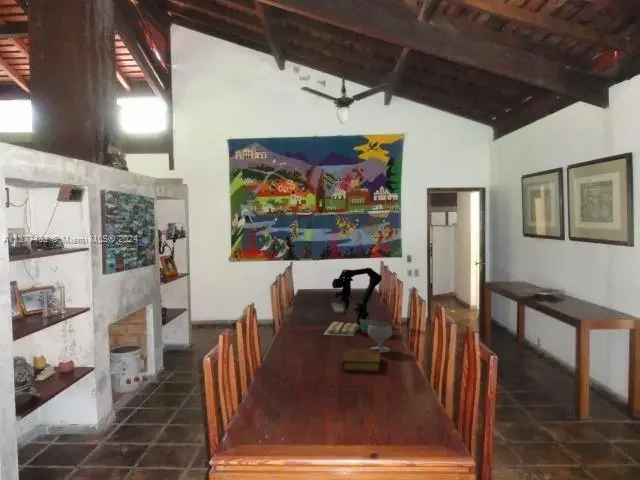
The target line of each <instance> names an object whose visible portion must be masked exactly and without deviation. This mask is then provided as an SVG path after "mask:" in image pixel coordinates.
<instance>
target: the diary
mask: <svg viewBox="0 0 640 480" xmlns="http://www.w3.org/2000/svg"><path fill="white" fill-rule="evenodd" d="M380 356H381V355H380V349H370V348H355V347H354V348H350V347H349V348H346V349H344V354H343V356H342V359H341V370H342V371H343V372H368V373H369V372H372V373H373V372H374V373H376V372H377V373H378V372H379V373H380V372H381V371H380V370H381V368H380V364H381V361H380V360H381V359H380V358H381V357H380Z"/></svg>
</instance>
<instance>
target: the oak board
mask: <svg viewBox="0 0 640 480" xmlns="http://www.w3.org/2000/svg"><path fill="white" fill-rule="evenodd" d="M344 325H345V326H344V328H343V329H342V331H341V334H353V333H354V331H355V329H356V327H357V325H358V324H357V322H356V323H353V322H352V323H351V322H346V323H345V324H344Z"/></svg>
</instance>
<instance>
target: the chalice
mask: <svg viewBox="0 0 640 480" xmlns="http://www.w3.org/2000/svg"><path fill="white" fill-rule="evenodd" d="M392 335H393V329H392V326H391V324H390V323H388V322H383V321H382V322H381V321H380V322H378V321H377V322H376V323H371V324H370V325H369V327H368V337H370V338H371V339H373V340H374V341H376V342H377V346H372V347H370V348H369V349H380V353H389V352H391V349H390V347H387V346H382V344H383V342H384V341H386V340H387V339H389V338H391V336H392Z"/></svg>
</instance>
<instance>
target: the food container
mask: <svg viewBox="0 0 640 480" xmlns="http://www.w3.org/2000/svg"><path fill="white" fill-rule="evenodd" d="M359 322H360V323H361V325H360V332H361V334H362V335H368V327H369V325H370V324H371V323H376V322H378V319H376V318H375V319H370V318H367V319H361V318H360V320H359ZM368 336H369V335H368Z"/></svg>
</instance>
